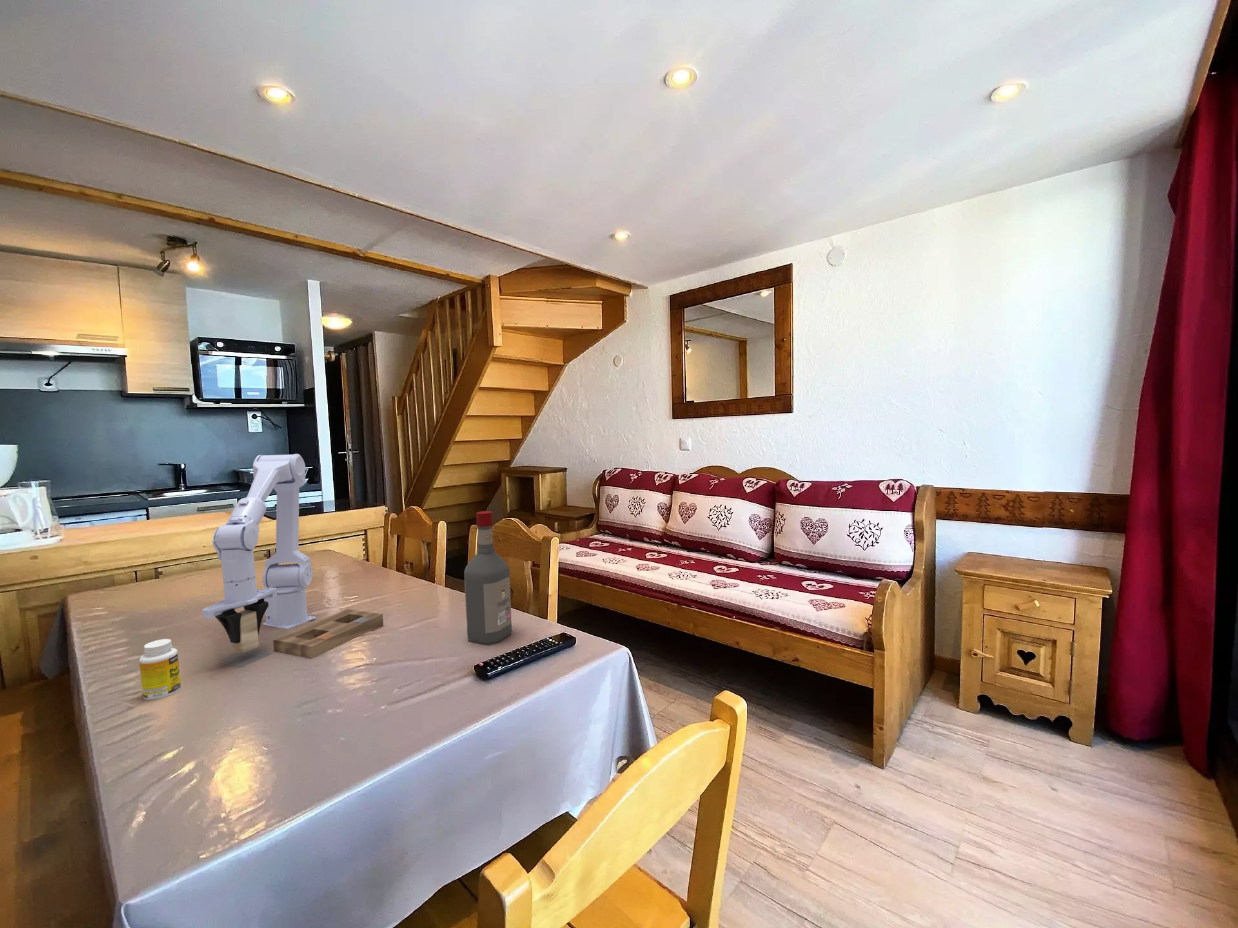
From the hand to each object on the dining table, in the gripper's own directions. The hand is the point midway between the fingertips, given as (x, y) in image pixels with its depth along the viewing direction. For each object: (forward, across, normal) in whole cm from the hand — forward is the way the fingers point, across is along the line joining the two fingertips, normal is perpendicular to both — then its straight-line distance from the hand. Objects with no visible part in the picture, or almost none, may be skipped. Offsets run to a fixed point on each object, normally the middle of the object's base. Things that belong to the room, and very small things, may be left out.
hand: (244, 638), depth 114 cm
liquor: (+5, +27, -45) cm, 53 cm away
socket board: (+5, +14, -9) cm, 17 cm away
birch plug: (+2, 0, 0) cm, 2 cm away
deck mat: (+5, 0, 0) cm, 5 cm away
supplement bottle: (+5, -16, 0) cm, 16 cm away
